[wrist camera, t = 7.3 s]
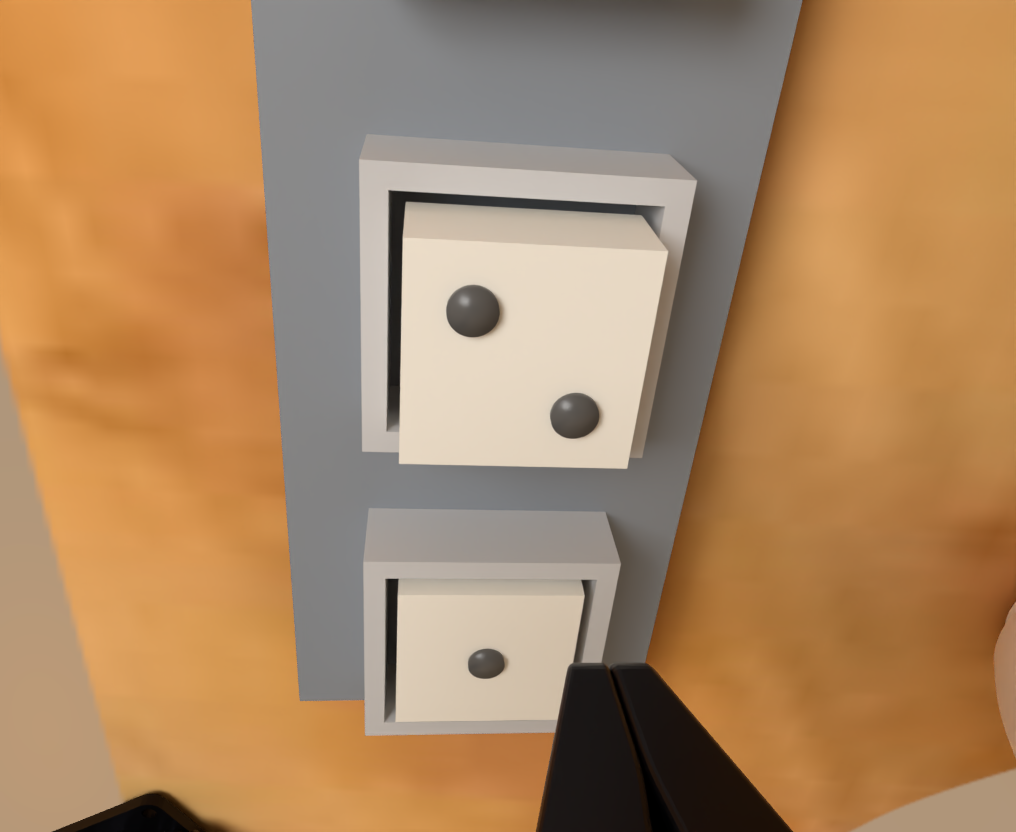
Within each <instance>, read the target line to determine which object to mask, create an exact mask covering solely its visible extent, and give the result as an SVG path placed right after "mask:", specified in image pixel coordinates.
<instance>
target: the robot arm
mask: <svg viewBox="0 0 1016 832" xmlns="http://www.w3.org/2000/svg"><path fill="white" fill-rule="evenodd" d="M53 832H205V831H204V830H203V829H202V828H200V827H199V826H198V825H197V824H196V823H194V822H193V821H192V820H191V819H189V818H188V817H187V816H186V815H185V814H183V813H182V812H181V811H180V810H179V809H177V808H176V807H175V806H174V805H173V804H171V803H170V802H169V801H168V800H167V799H165V798H164V797H162V796H160V795H156V794H147V795H143V796H140V797H138V798H135V799H133V800H130V801H128V802H125V803H123V804H120V805H118V806H115V807H113V808H111V809H108V810H105V811H103V812H100V813H98V814H95V815H93V816H90V817H88V818H85V819H83V820H80V821H78V822H75V823H73V824H70V825H68V826H65V827H63V828H61V829H58V830H56V831H53ZM536 832H793V831H792V830H791V829H790V828H789V826H788V825H787V824H786V823H785V822H784V821H783V819H782V818H781V817H780V816H779V815H778V813H777V812H776V811H775V810H774V809H773V808H772V806H771V805H770V804H769V803H768V802H767V801H766V799H765V798H764V797H763V796H762V795H761V794H760V792H759V791H758V790H757V789H756V788H755V787H754V785H753V784H752V783H751V782H750V781H749V780H748V778H747V777H746V776H745V775H744V774H743V773H742V771H741V770H740V769H739V768H738V767H737V766H736V764H735V763H734V762H733V761H732V760H731V759H730V757H729V756H728V755H727V754H726V753H725V751H724V750H723V749H722V748H721V747H720V746H719V744H718V743H717V742H716V741H715V740H714V739H713V737H712V736H711V735H710V734H709V733H708V732H707V730H706V729H705V728H704V727H703V726H702V725H701V723H700V722H699V721H698V720H697V719H696V718H695V716H694V715H693V714H692V713H691V712H690V711H689V709H688V708H687V707H686V706H685V705H684V704H683V702H682V701H681V700H680V699H679V698H678V696H677V695H676V694H675V693H674V692H673V691H672V689H671V688H670V687H669V686H668V685H667V684H666V682H665V681H664V680H663V679H662V678H661V677H660V675H659V674H658V673H657V672H656V671H655V670H654V669H653V668H652V667H651V666H650V665H648V664H646V663H612V664H611V665H609V667H608V666H607V665H606V664H604V663H572V664H570V665H569V666H568V669H567V673H566V678H565V683H564V688H563V694H562V699H561V704H560V709H559V714H558V719H557V725H556V730H555V735H554V740H553V745H552V750H551V756H550V761H549V766H548V771H547V776H546V781H545V787H544V792H543V797H542V802H541V807H540V812H539V818H538V823H537V828H536Z"/></svg>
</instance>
